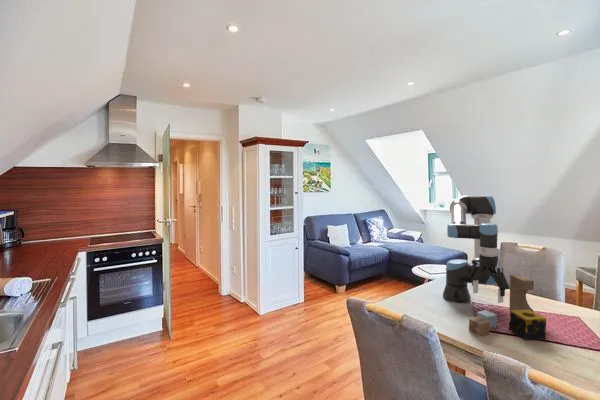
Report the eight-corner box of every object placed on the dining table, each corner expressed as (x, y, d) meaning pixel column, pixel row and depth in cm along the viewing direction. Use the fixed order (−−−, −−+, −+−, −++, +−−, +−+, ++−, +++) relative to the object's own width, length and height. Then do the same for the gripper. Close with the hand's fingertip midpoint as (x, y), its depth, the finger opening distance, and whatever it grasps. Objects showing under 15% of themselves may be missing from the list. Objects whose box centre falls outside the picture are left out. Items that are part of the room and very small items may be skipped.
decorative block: (533, 318, 161) (534, 280, 160) (522, 318, 161) (522, 280, 160) (519, 309, 172) (520, 274, 171) (508, 309, 172) (509, 274, 171)
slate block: (477, 323, 158) (477, 312, 157) (485, 321, 160) (486, 310, 159) (487, 328, 152) (488, 316, 152) (496, 326, 154) (497, 314, 154)
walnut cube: (468, 330, 150) (469, 318, 150) (478, 328, 152) (478, 316, 152) (479, 336, 145) (480, 324, 144) (489, 334, 147) (489, 321, 146)
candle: (508, 330, 150) (508, 310, 149) (528, 329, 151) (528, 308, 150) (525, 341, 140) (525, 319, 139) (546, 339, 141) (547, 318, 140)
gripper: (461, 250, 164) (460, 290, 165) (507, 261, 140) (506, 308, 142) (472, 249, 166) (471, 288, 168) (518, 260, 143) (517, 305, 144)
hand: (487, 297), depth 155 cm, fingers open, 13 cm apart
